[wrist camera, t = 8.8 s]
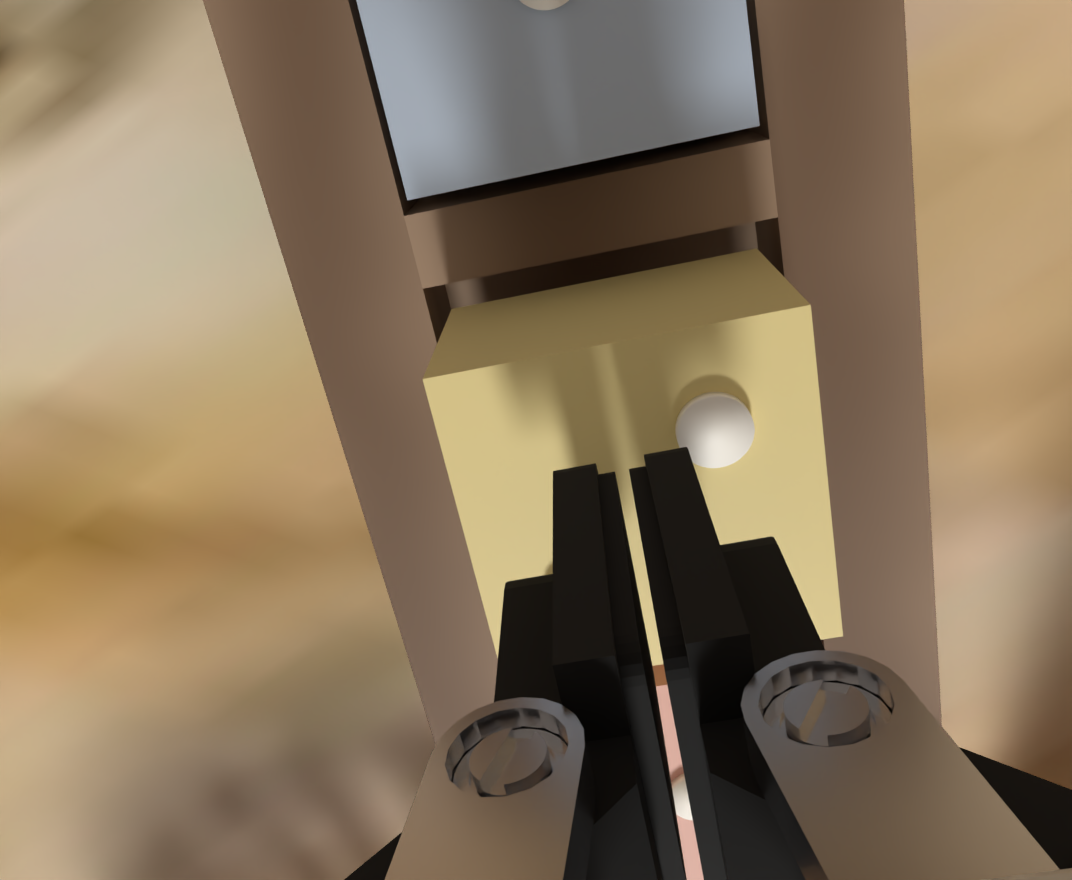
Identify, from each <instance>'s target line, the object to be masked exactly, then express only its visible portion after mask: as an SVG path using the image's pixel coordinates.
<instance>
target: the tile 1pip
mask: <svg viewBox="0 0 1072 880" xmlns="http://www.w3.org/2000/svg"><path fill="white" fill-rule="evenodd" d="M356 1H357V5H358V9H359V13H360V17H361V21H362V25H363V29H364V33H365V36H366V40H367V44H368V48H369V52H370V56H371V60H372V64H373V68H374V72H375V76H376V80H377V83H378V87H379V91H380V95H381V99H382V103H383V107H384V111H385V115H386V119H387V123H388V126H389V130H390V134H391V138H392V142H393V146H394V150H395V154H396V158H397V162H398V166H399V170H400V173H401V177H402V181H403V185H404V189H405V193H406V197H407V200H412V199H417V198H422V197H426V196H431V195H436V194H440V193H445V192H450V191H455V190H459V189H464V188H469V187H474V186H478V185H483V184H488V183H492V182H497V181H502V180H507V179H511V178H516V177H521V176H525V175H530V174H535V173H540V172H544V171H549V170H554V169H558V168H563V167H568V166H573V165H577V164H582V163H587V162H591V161H596V160H601V159H606V158H610V157H615V156H620V155H624V154H629V153H634V152H639V151H643V150H648V149H653V148H658V147H662V146H667V145H672V144H676V143H681V142H686V141H691V140H695V139H700V138H705V137H709V136H714V135H719V134H724V133H728V132H733V131H738V130H742V129H747V128H752V127H757V126H760V123H759V114H758V105H757V96H756V87H755V78H754V69H753V60H752V51H751V42H750V33H749V24H748V15H747V6H746V0H356Z"/></svg>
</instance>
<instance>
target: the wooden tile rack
mask: <svg viewBox="0 0 1072 880" xmlns="http://www.w3.org/2000/svg"><path fill="white" fill-rule="evenodd" d="M203 2H204V5H205V9H206V12H207V15H208V18H209V21H210V25H211V28H212V31H213V34H214V37H215V41H216V44H217V47H218V50H219V53H220V57H221V60H222V63H223V66H224V69H225V73H226V76H227V79H228V82H229V85H230V89H231V92H232V95H233V98H234V101H235V105H236V108H237V111H238V114H239V117H240V121H241V124H242V127H243V130H244V133H245V136H246V140H247V143H248V146H249V149H250V152H251V156H252V159H253V162H254V165H255V168H256V172H257V175H258V178H259V181H260V184H261V188H262V191H263V194H264V197H265V200H266V204H267V207H268V210H269V213H270V216H271V220H272V223H273V226H274V229H275V232H276V236H277V239H278V242H279V245H280V248H281V252H282V255H283V258H284V261H285V264H286V268H287V271H288V274H289V277H290V280H291V284H292V287H293V290H294V293H295V296H296V300H297V303H298V306H299V309H300V312H301V316H302V319H303V322H304V325H305V328H306V332H307V335H308V338H309V341H310V344H311V348H312V351H313V354H314V357H315V360H316V364H317V367H318V370H319V373H320V376H321V380H322V383H323V386H324V389H325V392H326V396H327V399H328V402H329V405H330V408H331V412H332V415H333V418H334V421H335V424H336V428H337V431H338V434H339V437H340V440H341V444H342V447H343V450H344V453H345V456H346V460H347V463H348V466H349V469H350V472H351V476H352V479H353V482H354V485H355V488H356V492H357V495H358V498H359V501H360V504H361V508H362V511H363V514H364V517H365V520H366V524H367V527H368V530H369V533H370V536H371V540H372V543H373V546H374V549H375V552H376V556H377V559H378V562H379V565H380V568H381V572H382V575H383V578H384V581H385V584H386V588H387V591H388V594H389V597H390V600H391V604H392V607H393V610H394V613H395V616H396V620H397V623H398V626H399V629H400V632H401V636H402V639H403V642H404V645H405V648H406V652H407V655H408V658H409V661H410V664H411V668H412V671H413V674H414V677H415V680H416V684H417V687H418V690H419V693H420V696H421V700H422V703H423V706H424V709H425V712H426V716H427V719H428V722H429V725H430V728H431V732H432V735H433V738H434V741H435V744H437V743H438V741H439V739H440V737H441V736H442V735H443V734H444V733H445V732H446V731H447V730H448V729H449V728H450V727H451V726H452V725H453V724H454V723H455V722H456V721H458V720H459V719H461V718H463V717H464V716H466V715H467V714H469V713H471V712H472V711H474V710H475V709H478V708H480V707H483V706H486V705H488V704H491V703H494V696H495V685H496V674H497V663H498V658H497V654H496V651H495V647H494V643H493V640H492V636H491V632H490V628H489V625H488V621H487V617H486V614H485V610H484V606H483V602H482V599H481V595H480V591H479V588H478V584H477V580H476V576H475V573H474V569H473V565H472V561H471V558H470V554H469V550H468V547H467V543H466V539H465V535H464V532H463V528H462V524H461V521H460V517H459V513H458V509H457V506H456V502H455V498H454V495H453V491H452V487H451V483H450V480H449V476H448V472H447V468H446V465H445V461H444V457H443V454H442V450H441V446H440V442H439V439H438V435H437V431H436V428H435V424H434V420H433V416H432V413H431V409H430V405H429V402H428V398H427V394H426V390H425V387H424V383H423V377H424V374H425V372H426V370H427V367H428V365H429V362H430V360H431V357H432V355H433V353H434V350H435V348H436V345H437V343H438V341H439V338H440V336H441V333H442V331H443V328H444V326H445V324H446V321H447V319H448V316H449V314H450V312H451V309H454V308H459V307H464V306H469V305H474V304H479V303H484V302H489V301H494V300H500V299H505V298H510V297H515V296H520V295H525V294H530V293H535V292H540V291H545V290H550V289H555V288H560V287H565V286H570V285H575V284H580V283H585V282H590V281H595V280H600V279H605V278H610V277H615V276H620V275H625V274H630V273H635V272H640V271H645V270H650V269H656V268H661V267H666V266H671V265H676V264H681V263H686V262H691V261H696V260H701V259H706V258H711V257H716V256H721V255H726V254H731V253H736V252H741V251H746V250H751V249H756V248H757V249H758V250H759V251H760V252H761V253H762V254H763V255H764V256H765V258H766V259H767V260H768V261H769V262H770V263H771V264H772V265H773V266H774V267H775V268H776V269H777V270H778V271H779V272H780V273H781V274H782V275H783V276H784V277H785V278H786V279H787V280H788V282H789V283H790V284H791V285H792V286H793V287H794V288H795V289H796V290H797V291H798V292H799V293H800V294H801V295H802V296H803V297H804V298H805V299H806V300H807V301H808V302H809V303H810V304H811V312H812V322H813V332H814V343H815V353H816V363H817V373H818V384H819V394H820V404H821V414H822V425H823V435H824V445H825V455H826V466H827V476H828V486H829V496H830V507H831V517H832V527H833V537H834V548H835V558H836V568H837V578H838V588H839V599H840V609H841V619H842V629H843V636H842V637H835V638H829V639H823V640H821V642H822V644H823V646H824V648H825V651H844V652H849V653H853V654H857V655H862V656H866V657H868V658H870V659H873V660H875V661H877V662H879V663H881V664H883V665H885V666H887V667H889V668H890V669H891V670H892V671H893V672H894V673H896V674H897V675H898V676H899V677H900V678H901V679H903V680H904V681H905V683H906V684H907V685H908V686H909V688H910V689H911V690H912V691H913V692H914V694H915V695H916V696H917V697H918V698H919V700H920V701H921V702H922V703H923V704H924V706H925V707H926V708H927V709H928V711H929V712H930V713H931V714H932V715H933V717H934V718H935V719H936V720H937V721H938V723H939V724H940V725H941V726H942V724H941V704H940V685H939V666H938V647H937V627H936V608H935V589H934V570H933V550H932V531H931V512H930V493H929V473H928V454H927V435H926V416H925V396H924V377H923V358H922V339H921V320H920V300H919V281H918V262H917V243H916V223H915V204H914V185H913V166H912V146H911V127H910V108H909V89H908V69H907V50H906V31H905V12H904V0H746V6H747V15H748V24H749V33H750V42H751V51H752V60H753V69H754V78H755V87H756V96H757V105H758V114H759V123H760V126H757V127H752V128H747V129H742V130H738V131H733V132H728V133H724V134H719V135H714V136H709V137H705V138H700V139H695V140H691V141H686V142H681V143H676V144H672V145H667V146H662V147H658V148H653V149H648V150H643V151H639V152H634V153H629V154H624V155H620V156H615V157H610V158H606V159H601V160H596V161H591V162H587V163H582V164H577V165H573V166H568V167H563V168H558V169H554V170H549V171H544V172H540V173H535V174H530V175H525V176H521V177H516V178H511V179H507V180H502V181H497V182H492V183H488V184H483V185H478V186H474V187H469V188H464V189H459V190H455V191H450V192H445V193H440V194H436V195H431V196H426V197H422V198H417V199H412V200H407V197H406V193H405V189H404V185H403V181H402V177H401V173H400V170H399V166H398V162H397V158H396V154H395V150H394V146H393V142H392V138H391V134H390V130H389V126H388V123H387V119H386V115H385V111H384V107H383V103H382V99H381V95H380V91H379V87H378V83H377V80H376V76H375V72H374V68H373V64H372V60H371V56H370V52H369V48H368V44H367V40H366V36H365V33H364V29H363V25H362V21H361V17H360V13H359V9H358V5H357V1H356V0H203Z"/></svg>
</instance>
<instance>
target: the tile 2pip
mask: <svg viewBox="0 0 1072 880" xmlns="http://www.w3.org/2000/svg"><path fill="white" fill-rule="evenodd" d="M423 383H424V387H425V390H426V394H427V398H428V402H429V405H430V409H431V413H432V416H433V420H434V424H435V428H436V431H437V435H438V439H439V442H440V446H441V450H442V454H443V457H444V461H445V465H446V468H447V472H448V476H449V480H450V483H451V487H452V491H453V495H454V498H455V502H456V506H457V509H458V513H459V517H460V521H461V524H462V528H463V532H464V535H465V539H466V543H467V547H468V550H469V554H470V558H471V561H472V565H473V569H474V573H475V576H476V580H477V584H478V588H479V591H480V595H481V599H482V602H483V606H484V610H485V614H486V617H487V621H488V625H489V628H490V632H491V636H492V640H493V643H494V647H495V651H496V654H497V658H498V652H499V641H500V630H501V619H502V608H503V597H504V588H505V583H506V582H508V581H513V580H519V579H525V578H530V577H536V576H542V575H548V574H553V471H556V470H561V469H567V468H572V467H578V466H583V465H589V464H594V463H596V465H597V469H598V474H604V473H609V472H615V474H616V479H617V484H618V489H619V495H620V500H621V505H622V510H623V515H624V520H625V526H626V531H627V536H628V541H629V546H630V552H631V557H632V562H633V567H634V572H635V577H636V583H637V588H638V593H639V598H640V603H641V608H642V614H643V619H644V624H645V629H646V634H647V640H648V645H649V650H650V655H651V661H652V666H655V665H662V664H663V659H662V653H661V648H660V642H659V637H658V631H657V626H656V620H655V614H654V609H653V603H652V597H651V592H650V586H649V580H648V575H647V569H646V564H645V558H644V552H643V547H642V541H641V535H640V530H639V524H638V518H637V513H636V507H635V502H634V496H633V490H632V485H631V479H630V473H629V469H631V468H637V467H642V466H645V460H644V454H649V453H655V452H660V451H666V450H671V449H677V448H682V447H687V448H688V450H689V453H690V456H691V459H692V462H693V465H694V468H695V471H696V474H697V477H698V480H699V483H700V486H701V489H702V492H703V495H704V498H705V501H706V504H707V507H708V510H709V513H710V516H711V519H712V522H713V525H714V528H715V531H716V534H717V537H718V540H719V543H720V545H723V544H729V543H735V542H741V541H747V540H753V539H758V538H764V537H770V536H772V537H774V538H775V540H776V542H777V544H778V546H779V548H780V550H781V553H782V555H783V557H784V559H785V561H786V564H787V566H788V568H789V570H790V573H791V575H792V577H793V579H794V581H795V584H796V586H797V588H798V590H799V593H800V595H801V597H802V599H803V602H804V604H805V606H806V608H807V610H808V613H809V615H810V617H811V619H812V622H813V624H814V626H815V628H816V630H817V633H818V635H819V637H820V639H821V640H823V639H829V638H835V637H842V636H843V629H842V619H841V609H840V599H839V588H838V578H837V568H836V558H835V548H834V537H833V527H832V517H831V507H830V496H829V486H828V476H827V466H826V455H825V445H824V435H823V425H822V414H821V404H820V394H819V384H818V373H817V363H816V353H815V343H814V332H813V322H812V312H811V304H810V303H809V302H808V301H807V300H806V299H805V298H804V297H803V296H802V295H801V294H800V293H799V292H798V291H797V290H796V289H795V288H794V287H793V286H792V285H791V284H790V283H789V282H788V280H787V279H786V278H785V277H784V276H783V275H782V274H781V273H780V272H779V271H778V270H777V269H776V268H775V267H774V266H773V265H772V264H771V263H770V262H769V261H768V260H767V259H766V258H765V256H764V255H763V254H762V253H761V252H760V251H759V250H758V249H757V248H756V249H751V250H746V251H741V252H736V253H731V254H726V255H721V256H716V257H711V258H706V259H701V260H696V261H691V262H686V263H681V264H676V265H671V266H666V267H661V268H656V269H650V270H645V271H640V272H635V273H630V274H625V275H620V276H615V277H610V278H605V279H600V280H595V281H590V282H585V283H580V284H575V285H570V286H565V287H560V288H555V289H550V290H545V291H540V292H535V293H530V294H525V295H520V296H515V297H510V298H505V299H500V300H494V301H489V302H484V303H479V304H474V305H469V306H464V307H459V308H454V309H451V312H450V314H449V316H448V319H447V321H446V324H445V326H444V328H443V331H442V333H441V336H440V338H439V341H438V343H437V345H436V348H435V350H434V353H433V355H432V357H431V360H430V362H429V365H428V367H427V370H426V372H425V374H424V377H423Z"/></svg>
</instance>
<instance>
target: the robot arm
mask: <svg viewBox="0 0 1072 880" xmlns="http://www.w3.org/2000/svg"><path fill="white" fill-rule="evenodd" d="M644 460H645V466H642V467H637V468H631V469H629V473H630V479H631V485H632V490H633V496H634V502H635V507H636V513H637V518H638V524H639V530H640V535H641V541H642V547H643V552H644V558H645V564H646V569H647V575H648V580H649V586H650V592H651V597H652V603H653V609H654V614H655V620H656V626H657V631H658V637H659V642H660V648H661V653H662V659H663V664H664V670H665V675H666V680H667V686H668V691H669V696H670V702H671V707H672V712H673V718H674V723H675V728H676V734H677V739H678V744H679V750H680V755H681V760H682V766H683V771H684V776H685V782H686V787H687V792H688V798H689V803H690V808H691V814H692V819H693V824H694V830H695V835H696V840H697V846H698V851H699V856H700V862H701V867H702V872H703V878H704V880H1072V790H1070V789H1068V788H1065V787H1062V786H1060V785H1057V784H1055V783H1052V782H1049V781H1047V780H1044V779H1041V778H1039V777H1036V776H1034V775H1031V774H1028V773H1026V772H1023V771H1020V770H1018V769H1015V768H1012V767H1010V766H1007V765H1005V764H1002V763H999V762H997V761H994V760H991V759H989V758H986V757H984V756H981V755H978V754H976V753H973V752H970V751H968V750H965V749H963V748H960V747H958V746H957V744H956V743H955V742H954V741H953V740H952V738H951V737H950V736H949V735H948V733H947V732H946V731H945V730H944V729H943V727H942V726H941V725H940V724H939V723H938V721H937V720H936V719H935V718H934V717H933V715H932V714H931V713H930V712H929V711H928V709H927V708H926V707H925V706H924V704H923V703H922V702H921V701H920V700H919V698H918V697H917V696H916V695H915V694H914V692H913V691H912V690H911V689H910V688H909V686H908V685H907V684H906V683H905V681H904V680H903V679H901V678H900V677H899V676H898V675H897V674H896V673H894V672H893V671H892V670H891V669H890V668H889V667H887V666H885V665H883V664H881V663H879V662H877V661H875V660H873V659H870V658H868V657H866V656H862V655H857V654H853V653H849V652H844V651H825V648H824V646H823V644H822V642H821V639H820V637H819V635H818V633H817V630H816V628H815V626H814V624H813V622H812V619H811V617H810V615H809V613H808V610H807V608H806V606H805V604H804V602H803V599H802V597H801V595H800V593H799V590H798V588H797V586H796V584H795V581H794V579H793V577H792V575H791V573H790V570H789V568H788V566H787V564H786V561H785V559H784V557H783V555H782V553H781V550H780V548H779V546H778V544H777V542H776V540H775V538H774V537H772V536H770V537H764V538H758V539H753V540H747V541H741V542H735V543H729V544H723V545H720V543H719V540H718V537H717V534H716V531H715V528H714V525H713V522H712V519H711V516H710V513H709V510H708V507H707V504H706V501H705V498H704V495H703V492H702V489H701V486H700V483H699V480H698V477H697V474H696V471H695V468H694V465H693V462H692V459H691V456H690V453H689V450H688V448H687V447H682V448H677V449H671V450H666V451H660V452H655V453H649V454H644ZM345 880H687V878H686V872H685V866H684V859H683V853H682V847H681V840H680V834H679V828H678V822H677V815H676V809H675V803H674V797H673V790H672V784H671V778H670V772H669V765H668V759H667V753H666V746H665V740H664V734H663V728H662V721H661V715H660V709H659V703H658V696H657V690H656V684H655V678H654V672H653V666H652V661H651V655H650V650H649V645H648V640H647V634H646V629H645V624H644V619H643V614H642V608H641V603H640V598H639V593H638V588H637V583H636V577H635V572H634V567H633V562H632V557H631V552H630V546H629V541H628V536H627V531H626V526H625V520H624V515H623V510H622V505H621V500H620V495H619V489H618V484H617V479H616V474H615V472H609V473H604V474H598V469H597V465H596V463H594V464H589V465H583V466H578V467H572V468H567V469H561V470H556V471H553V574H548V575H542V576H536V577H530V578H525V579H519V580H513V581H508V582H506V583H505V588H504V597H503V608H502V619H501V630H500V641H499V652H498V663H497V674H496V685H495V696H494V703H491V704H488V705H486V706H483V707H480V708H478V709H475V710H474V711H472V712H471V713H469V714H467V715H466V716H464V717H463V718H461V719H459V720H458V721H456V722H455V723H454V724H453V725H452V726H451V727H450V728H449V729H448V730H447V731H446V732H445V733H444V734H443V735H442V736H441V737H440V739H439V741H438V743H437V744H436V746H435V748H434V750H433V751H432V753H431V756H430V758H429V761H428V764H427V766H426V769H425V772H424V774H423V777H422V780H421V783H420V785H419V788H418V791H417V793H416V796H415V799H414V802H413V804H412V807H411V810H410V812H409V815H408V818H407V820H406V823H405V826H404V829H403V831H402V833H401V834H399V835H398V836H397V837H396V838H394V839H393V840H392V841H391V842H390V843H388V844H387V845H386V846H385V847H383V848H382V849H381V850H380V851H379V852H377V853H376V854H375V855H374V856H373V857H371V858H370V859H369V860H368V861H366V862H365V863H364V864H363V865H362V866H360V867H359V868H358V869H357V870H356V871H354V872H353V873H352V874H351V875H349V876H348V877H347V878H346V879H345Z"/></svg>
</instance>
